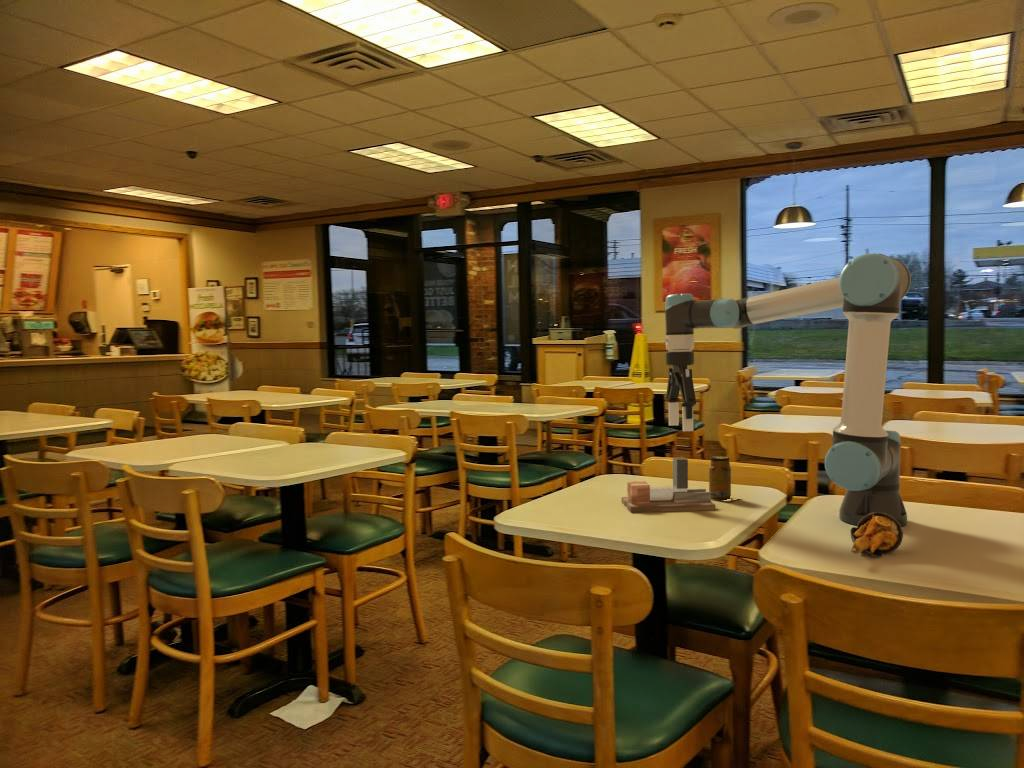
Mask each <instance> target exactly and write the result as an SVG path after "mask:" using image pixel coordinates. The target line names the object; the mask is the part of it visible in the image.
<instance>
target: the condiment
mask: <svg viewBox="0 0 1024 768" xmlns="http://www.w3.org/2000/svg"><path fill="white" fill-rule="evenodd" d="M730 464H731V462H730V457H728V456H723V455H714V456H711V457H710V466H709V468H708V492H711V500H712V501H718V502H721V501H720V500H727V499H730V497H732V493H731V492H732V468H731V465H730ZM733 497H734V498H738V497H736V496H733ZM724 503H731V502H730V501H729V502H728V501H724Z"/></svg>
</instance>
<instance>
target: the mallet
mask: <svg viewBox="0 0 1024 768" xmlns="http://www.w3.org/2000/svg"><path fill="white" fill-rule="evenodd" d="M688 467H689V460H688V459H687V458H686V457H684V456H675V457H674V456H673V457H672V485H670V486H667V485H666V486H665V485H664V486H663V485H662V486H650V499H671V498H674V493H687V489H689V476H688V475H689V468H688Z"/></svg>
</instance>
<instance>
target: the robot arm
mask: <svg viewBox="0 0 1024 768" xmlns="http://www.w3.org/2000/svg"><path fill="white" fill-rule="evenodd" d="M911 283H912V276H911V272H910V270H909V269H908V267H907V266H906V264H904V263H903V262H902V261H901V260H899V259H896V258H895V257H894V258H893V257H891V256H888V255H886V254H883V253H875V252H874V253H864V254H860V255H857V256H855V257H854V258H853V259H851V260H850V261H848V262H847V263H846V264H845V266H844V267H843V268H842V270H841V273H840V275H839V277H837V278H836V277H835V278H831V279H830V278H829V279H826V280H822V281H817V282H813V283H809V284H803V285H799V286H795V287H790V288H786V289H780V290H776V291H772V292H767V293H763V294H762V293H761V294H758V295H753V296H749V297H744V298H739V299H734V298H721V297H720V298H713V299H703V300H695V298H694V295H693V294H692V293H675V294H673V293H672V294H669V295H667V296H666V297H665V303H664V304H665V307H664V308H665V310H664V313H665V318H664V319H665V339H663V342H664V343H665V350H666V351H667V352H666V353H665V364H666V365H667V366H668V367H669V366H672V367H669V368H668V377H667V378H668V379H667V388H666V396H665V399H666V400H667V402H668V426H672V427H673V426H679V425H680V424H679V423H680V418H679V417H680V415H679V413H680V412H679V410H680V409H679V408H680V407H681V408H682V432H694V406H695V405H697V400H696V393H695V387H694V381H693V370H692V368H688V366H692V365H694V363H695V353H694V351H693V350H694V349H695V335H694V333H695V329H729V328H730V329H742V328H745V327H748V326H752V325H757V324H762V323H763V324H764V323H768V322H771V321H777V320H782V319H783V320H784V319H789V318H794V317H799V316H800V317H801V316H804V315H808V314H815V313H819V312H824V311H825V312H827V311H831V310H835V309H841V308H842V314H843V316H845V318H847V320H848V328H847V342H846V351H845V352H846V354H845V355H846V356H845V366H844V379H843V391H842V402H841V403H842V404H841V405H842V406H841V415H840V422H839V423H838V424H837V425H836V426H835V427H833V430H832V440H831V447H830V448H829V449H828V451H827V452H826V454H825V457H824V469H825V472H826V474H827V476H828V477H829V479H830V480H831V481H832V482H833V483H834V484H835V485H836V486H837V487H840V488H842V489H843V490H846V491H845V494H844V497H843V498H842V502H841V504H840V507H839V514H838V515H839V516H838V517H839V519H840V520H841V521H842V522H845V523H847V524H850V525H854V526H857V525H858V523H859V522H860V520H861V519H862V518H863V517H864V516H866V515H867V514H869V513H872V512H883V513H887V514H889V515H891V516H893V517H894V518H895V519H896V520H897V521H898V522H899V523H900V525H901V528H902V527H904V526H907V525H908V514H907V510H906V507H905V505H904V502H903V498H902V496H901V491H900V483H901V482H900V479H901V478H900V477H901V475H900V474H901V472H900V471H901V446H902V443H901V442H902V441H901V435H900V434H899V432H898V431H895V430H888V429H887V430H885V429H884V427H883V426H882V425H883V414H884V412H883V411H884V401H885V390H886V379H887V369H888V368H887V367H888V356H889V345H890V335H891V323H892V321H893V320H895V319H896V318H897V317H898V316H899V315H900V307H901V306H900V305H901V300H903V299H904V298H905V297H906V295H907V294H908V292H909V290H910V288H911ZM679 396H681V401H682V403H681V405H680V407H679V404H680V403H679V402H681V401H680V398H679Z"/></svg>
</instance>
